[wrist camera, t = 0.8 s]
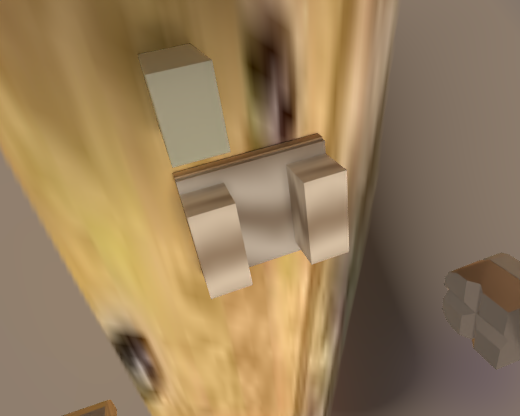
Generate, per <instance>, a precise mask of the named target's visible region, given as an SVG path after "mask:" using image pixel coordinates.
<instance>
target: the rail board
mask: <svg viewBox="0 0 520 416" xmlns="http://www.w3.org/2000/svg"><path fill="white" fill-rule="evenodd" d="M173 175H174V178H175V182H176V185H177V188H178V192H179V195H180V198H181V202H182V205H183V208H184V212H185V215H186V218H187V222H188V225H189V229H190V232H191V235H192V239H193V242H194V245H195V249H196V252H197V255H198V259H199V262H200V265H201V269H202V272H203V275H204V278H205V282H206V284H207V287H208V290H209V294H210V297H211V299H213V298H216V297H219V296H222V295H225V294H227V293H230V292H233V291H236V290H239V289H242V288H245V287H248V286H251V285H253V284H252V279H251V274H250V270H249V267H251V266H254V265H257V264H260V263H263V262H266V261H269V260H272V259H275V258H278V257H281V256H284V255H287V254H290V253H293V252H296V251H299V250H302V252H303V253H304V254H305V256H306V257H307V259H308V260H309V261H310V263H311V264H314V263H317V262H320V261H323V260H326V259H329V258H332V257H335V256H338V255H341V254H343V253H346V252H349V234H348V197H347V170H346V169H345V168H343V167H342V166H341V165H340V164H338V163H337V162H336V161H334V160H333V159H332V158H331V157H329V156H328V155H327V154H326V153H325V140H323V139H322V136H320V135H319V134H318V133H317V134H314V135H310V136H306V137H303V138H299V139H296V140H292V141H288V142H285V143H281V144H277V145H274V146H270V147H266V148H263V149H259V150H255V151H252V152H248V153H244V154H241V155H237V156H233V157H230V158H226V159H222V160H219V161H215V162H212V163H208V164H204V165H201V166H197V167H193V168H190V169H186V170H182V171H179V172H175V173H173Z"/></svg>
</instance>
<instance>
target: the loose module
mask: <svg viewBox="0 0 520 416" xmlns="http://www.w3.org/2000/svg"><path fill="white" fill-rule="evenodd" d="M137 55H138V58H139V61H140V65H141V68H142V71H143V75H144V78H145V81H146V85H147V88H148V91H149V95H150V98H151V101H152V105H153V108H154V111H155V115H156V118H157V122H158V125H159V128H160V131H161V134H162V137H163V140H164V143H165V146H166V149H167V152H168V155H169V158H170V161H171V164H172V167H177V166H181V165H184V164H188V163H192V162H196V161H199V160H203V159H207V158H210V157H214V156H218V155H221V154H225V153H229V152H231V151H230V146H229V141H228V137H227V132H226V127H225V122H224V117H223V112H222V107H221V102H220V97H219V92H218V87H217V82H216V77H215V72H214V67H213V62H212V60H211V59H210V58H209V57H207V56H206V55H205V54H203V53H202V52H201V51H199V50H198V49H197V48H195V47H194V46H193V45H191V44H190V43H189V44H185V45H180V46H175V47H170V48H165V49H161V50H156V51H151V52H146V53H142V54H137Z"/></svg>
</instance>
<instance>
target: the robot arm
mask: <svg viewBox="0 0 520 416" xmlns="http://www.w3.org/2000/svg"><path fill="white" fill-rule="evenodd" d="M444 285H445V287H446V288H448V292H447V293H446V295H445V296H444V298H443V306H442V310H443V312H444V315H445V318H446V320H447V321H448V323H449V324H450V325H451V327H452V328H453V329H454V330H455V331H456V332H457V333H458V334H459V335H461V336H464V337H467V338H470V339H472V343H473V348H474V349H475V350H476V351H477V352H478V353H479V354H480V355H481V356H482V357H483V358H484V359H485V360H486V361H487V362H488V363H490V364H491V365H492V366H493V367H494V368H495V369H499V368H502V367H504V366H507V365H509V364H511V363H514V362H516V361H519V360H520V261H518V260H517V259H515V258H514V257H512V256H510V255H508V254H505V253H498V254H496V255H493V256H490V257H488V258H485V259H483V260H479V261H476V262H474V263H471V264H469V265H466V266H463V267H461V268H458V269H456V270H453V271H451V272H449V273H448V274H447V275H446V277H445V282H444ZM63 416H117V409H116V407H115V406H114V404H113V402H112V401H111V400H107V401H103V402H101V403H98V404H95V405H92V406H89V407H86V408H83V409H80V410H78V411H75V412H72V413H69V414H66V415H63Z"/></svg>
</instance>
